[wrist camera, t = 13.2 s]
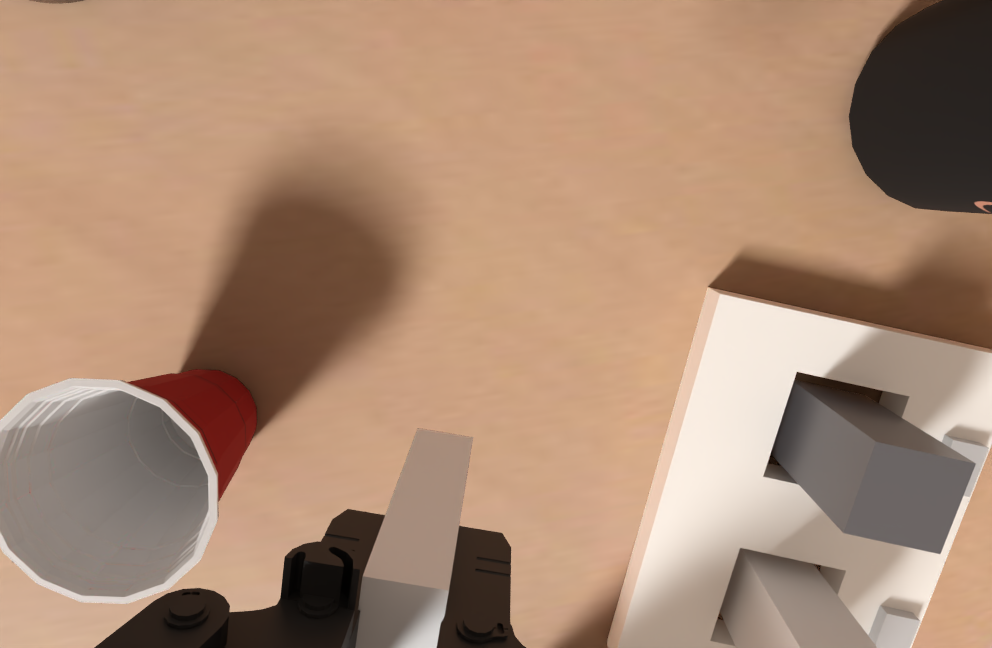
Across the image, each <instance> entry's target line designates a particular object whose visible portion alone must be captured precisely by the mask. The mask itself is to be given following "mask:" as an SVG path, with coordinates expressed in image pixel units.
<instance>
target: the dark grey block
mask: <svg viewBox="0 0 992 648" xmlns="http://www.w3.org/2000/svg"><path fill="white" fill-rule="evenodd" d="M771 455H772V456H773V457H774V458H775V459H776V460H777V461H778V462H779V464H780V465H781V466H782V467H783V468H784V469H785V470H786V471H787V472H788V473H789V474H790V476H791V477H792V478H793V479H794V480H795V481H796V482H797V483H798V484H799V485H800V486H801V488H802V489H803V490H804V491H805V492H806V493H807V494H808V495H809V496H810V497H811V498H812V500H813V501H814V502H815V503H816V504H817V505H818V506H819V507H820V508H821V509H822V510H823V512H824V513H825V514H826V515H827V516H828V517H829V518H830V519H831V520H832V521H833V522H834V524H835V525H836V526H837V527H838V528H839V529H840V530H841V531H842V532H843V533H845V534H849V535H854V536H859V537H863V538H868V539H872V540H877V541H882V542H886V543H891V544H895V545H900V546H904V547H909V548H914V549H918V550H923V551H927V552H932V553H937V554H941V552H942V549H943V546H944V544H945V541H946V539H947V536H948V534H949V531H950V529H951V526H952V524H953V521H954V518H955V516H956V513H957V511H958V508H959V506H960V503H961V501H962V498H963V496H964V493H965V491H966V488H967V485H968V483H969V480H970V478H971V475H972V473H973V470H974V468H975V465H976V463H974V462H973V461H971V460H969V459H968V458H966V457H965V456H963V455H961V454H960V453H958V452H957V451H955V450H953V449H952V448H950V447H948V446H947V445H945V444H944V443H942V442H940V441H939V440H937V439H935V438H934V437H932V436H931V435H929V434H927V433H926V432H924V431H922V430H921V429H919V428H918V427H916V426H914V425H913V424H911V423H909V422H908V421H906V420H905V419H903V418H901V417H900V416H898V415H896V414H895V413H893V412H892V411H890V410H888V409H887V408H885V407H883V406H882V405H880V404H879V403H877V402H875V401H874V400H872V399H870V398H869V397H867V396H866V395H863V394H858V393H853V392H849V391H844V390H840V389H835V388H831V387H826V386H821V385H817V384H812V383H808V382H803V381H799V380H794V382H793V385H792V389H791V392H790V395H789V398H788V401H787V404H786V407H785V410H784V413H783V416H782V420H781V423H780V426H779V429H778V432H777V435H776V438H775V441H774V444H773V447H772V451H771Z"/></svg>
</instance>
